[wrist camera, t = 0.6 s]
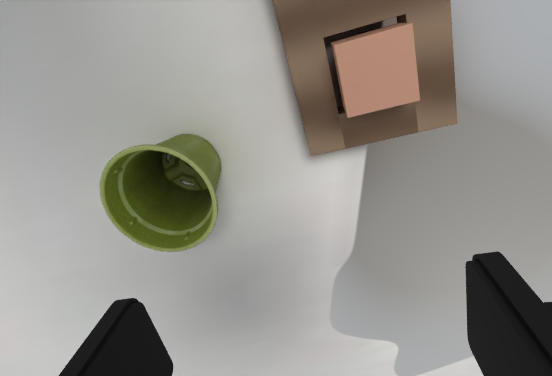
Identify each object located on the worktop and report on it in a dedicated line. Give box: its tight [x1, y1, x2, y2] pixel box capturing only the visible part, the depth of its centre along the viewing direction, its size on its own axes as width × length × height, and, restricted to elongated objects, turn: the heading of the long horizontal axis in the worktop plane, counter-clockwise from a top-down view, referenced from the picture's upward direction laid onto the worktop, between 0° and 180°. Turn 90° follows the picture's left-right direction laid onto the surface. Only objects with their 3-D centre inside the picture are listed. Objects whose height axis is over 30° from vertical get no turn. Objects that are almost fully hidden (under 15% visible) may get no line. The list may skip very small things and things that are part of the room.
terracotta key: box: [331, 23, 420, 118], centre depth 25 cm, size 5×5×4 cm
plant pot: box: [100, 134, 221, 252], centre depth 30 cm, size 9×9×9 cm
